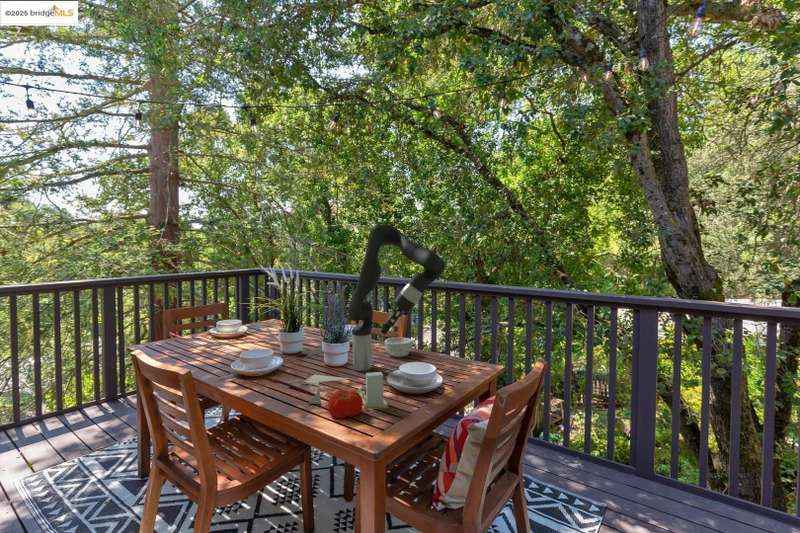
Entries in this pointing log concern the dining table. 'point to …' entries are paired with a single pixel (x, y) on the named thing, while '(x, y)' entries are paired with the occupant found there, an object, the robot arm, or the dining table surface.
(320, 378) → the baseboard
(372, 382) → the pale green block
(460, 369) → the dining table surface
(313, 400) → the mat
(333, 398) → the tomato
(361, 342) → the robot arm
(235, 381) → the dining table surface
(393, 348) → the paper bowls
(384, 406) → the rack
